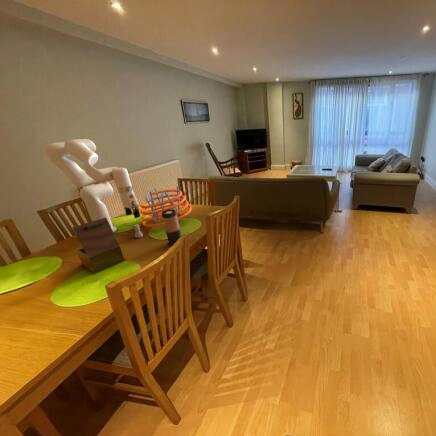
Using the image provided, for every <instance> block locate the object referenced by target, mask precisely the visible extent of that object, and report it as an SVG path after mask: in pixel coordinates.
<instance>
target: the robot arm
mask: <svg viewBox="0 0 436 436" xmlns="http://www.w3.org/2000/svg"><path fill="white" fill-rule="evenodd" d="M96 151H97V146H96V144H95V143H94V141H92V140H91V139H89V138H77V139H74V138H73V139H68V140H67V141H61V142H60V141H59V142H53V143H49V144H47V145H46V146H45V148H44V152H45V155H46V157H47V159H48V160H49V161H50V162H51V163H52V164H53V165H54V166H56V168H58V169H59V170H61V171H62V173H63V174H64V175H65V176H66V177H67V178H68V180H69V181H70V182H71V183H72V185H74V186H76V187H78V188H80V190H79V196H80V198H81V200H82V201H83V203H84V204H85V207H86V209H87V211H88V215H89V217H90V220H91V222H92V221H95V220H99V219H102V218H107V220H108V222H109V224H110V226H111V228H112V230H113V232H114V233H115V232H117V229H118V228H117V227H116V226H113V223H112V220H111V217H110V212H109V211H108V208H107V206H106V204H105V203H104V202H102V201H101V200H104V199H105V198H109V197H111V196H113V195H114V188H113V186H112V185H111V184H110V183H109V182H112V181H113V182H114V184H115V187H116V190H117V193H118V194H119V198H120V202H121V204H122V207H123V209H124V212H125V215H126V216H127V217H128V216H131V215H133V217H134V219H139V218H141V214H140V213H141V212H140V208H139V207H140V204H139V202H138V199H137V196H136V194H135V192H134V187H133V184H132V181H131V179H130V175H129V172H128V169H127V168H126V167H119V166H109V167H104V168H99V169H98V168H96V167H94V165H96V164H97V163H98V161H99V156H98V155H99V154H97V153H95V152H96ZM69 157H73V158H76V159H77V160H78V161H79V162H81V163H82V167H83V168H82V167H80V166H79V164H78V163H76V162H75V161H74V160H71V159H69Z"/></svg>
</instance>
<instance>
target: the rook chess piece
mask: <svg viewBox="0 0 436 436" xmlns="http://www.w3.org/2000/svg"><path fill="white" fill-rule="evenodd" d="M133 229H134V232H135V233H134V237H135V238H136V239H140V238H143V236H144V234H143V232H142V231H141V230H140V225H139V224H137V223H136V224H134V225H133Z"/></svg>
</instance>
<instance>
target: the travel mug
mask: <svg viewBox="0 0 436 436" xmlns="http://www.w3.org/2000/svg"><path fill="white" fill-rule="evenodd" d="M177 214H178V213H177ZM177 214H176V209H174V210H173V209H170V210H165V211H163V212H161V216H162V218H163V219H162V223H164V225H163V226H164V230H165V234H166V237H167V241H168V244H169V245H170V246H174V245H173V244H174V243H175V242H176V241H177V240H178V239H179V238H180V237H181V238H182V234H181V233H182V232H181V228H180V224H179V221H178V219H177V217H178V215H177Z"/></svg>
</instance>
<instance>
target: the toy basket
mask: <svg viewBox="0 0 436 436" xmlns="http://www.w3.org/2000/svg"><path fill="white" fill-rule="evenodd" d="M148 193H149V195H150V199H148V197H147V196H144V199H145V200H144V201H143V202H141V203H140V204H139V207H140V208H142V209H140V213H141V216H140V218H141V220H142V222H141V225H142V226H143V227H146V228H155V227H162V226H164V222H161V223H160V220H163V218H162V215H161V216H159V214H162V212H163V211H165V210H175V211H176V214H178V216H177V219H178V222H179V221H180V220H182V219H183V218H185V217H187V216H188V215H189V214H190V213H191V212H192V209H193V206H191V204H189V201H188V200H186V196H185V195H183V192H182V190H179V186H178V185H176V189H162V190H158V191H157V189H156V188H154V192H153V191H151V190H150V191H148ZM167 193H172V194H167ZM174 193H175V194H174ZM158 194H160V195H158ZM163 194H164V195H163ZM154 195H155V196H156V197H154ZM172 197H173V198H172ZM165 198H166V200H164V199H165ZM156 200H157V202H155V201H156ZM150 202H151V203H150ZM173 202H177V203H173ZM146 204H148V205H146ZM181 206H183V207H181ZM180 207H181V208H180ZM187 208H189V209H187ZM148 209H150V210H148ZM186 209H187V211H186V212H184V213H183V214H182V215H181V212H182V211H184V210H186ZM147 210H148V211H147ZM147 215H149V216H147ZM146 216H147V217H146ZM156 221H157V222H158V223H156ZM146 222H153V223H154V224H146Z"/></svg>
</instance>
